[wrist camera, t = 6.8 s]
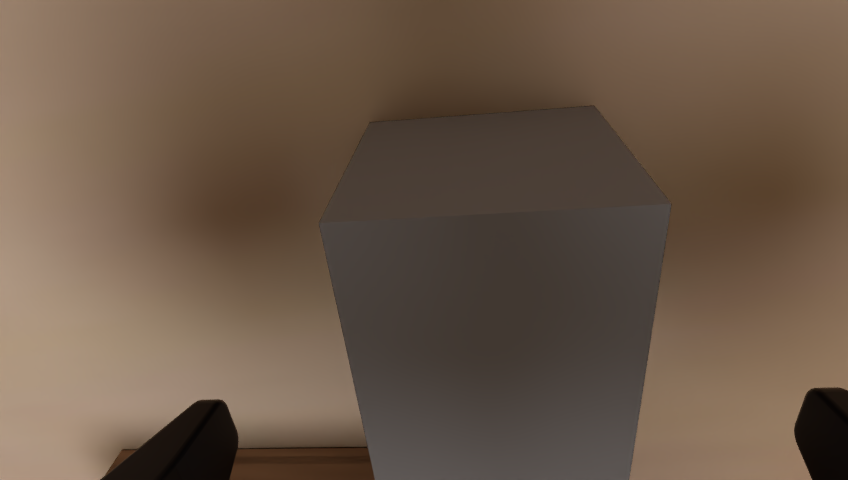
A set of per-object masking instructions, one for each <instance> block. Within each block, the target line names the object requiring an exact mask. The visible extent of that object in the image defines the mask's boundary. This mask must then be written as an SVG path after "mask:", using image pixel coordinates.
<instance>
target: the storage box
mask: <svg viewBox="0 0 848 480" xmlns="http://www.w3.org/2000/svg"><path fill="white" fill-rule="evenodd" d="M135 451H136V450H122V451H121V452H120V454H119V455H118V457H117V458H116V460H115V461H114V463H113V464H112V466H111V467H110V469H109V470H108V472H107V473H106V474H108V473H109V472H110V471H111V470H113V469H114V468H115V467H116V466H118V465H119V464H120V463H121V462H122V461H124V460H125V459H126V458H127V457H129V456H130V455H131V454H132V453H133V452H135ZM230 480H375V478H374V473H373V469H372V464H371V459H370V455H369V450H368V448H305V449H237V452H236V456H235V460H234V464H233V468H232V472H231V476H230Z"/></svg>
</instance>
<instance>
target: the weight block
mask: <svg viewBox="0 0 848 480" xmlns="http://www.w3.org/2000/svg"><path fill="white" fill-rule="evenodd" d="M670 210H671V203H670V201H669V200H668V199H667V198H666V196H665V195H664V194H663V192H662V191H661V190H660V189H659V187H658V186H657V185H656V184H655V182H654V181H653V180H652V178H651V177H650V176H649V175H648V173H647V172H646V171H645V170H644V168H643V167H642V166H641V164H640V163H639V162H638V161H637V159H636V158H635V157H634V156H633V154H632V153H631V152H630V150H629V149H628V148H627V147H626V145H625V144H624V143H623V142H622V140H621V139H620V138H619V136H618V135H617V134H616V133H615V131H614V130H613V129H612V128H611V126H610V125H609V124H608V122H607V121H606V120H605V119H604V117H603V116H602V115H601V114H600V112H599V111H598V110H597V108H596V107H595V106H584V107H570V108H557V109H543V110H530V111H516V112H503V113H489V114H476V115H462V116H449V117H436V118H422V119H409V120H395V121H382V122H370V123H369V125H368V127H367V129H366V131H365V133H364V135H363V137H362V139H361V141H360V143H359V145H358V147H357V149H356V151H355V153H354V155H353V157H352V159H351V160H350V162H349V164H348V166H347V168H346V170H345V172H344V174H343V176H342V178H341V180H340V182H339V184H338V186H337V188H336V190H335V192H334V194H333V196H332V198H331V200H330V202H329V204H328V206H327V208H326V210H325V212H324V214H323V216H322V218H321V220H320V222H319V227H320V231H321V236H322V240H323V245H324V249H325V254H326V259H327V263H328V268H329V272H330V277H331V281H332V286H333V291H334V295H335V300H336V304H337V309H338V313H339V318H340V322H341V327H342V332H343V336H344V341H345V345H346V350H347V354H348V359H349V364H350V368H351V373H352V377H353V382H354V386H355V391H356V396H357V400H358V405H359V409H360V414H361V418H362V423H363V428H364V432H365V437H366V441H367V446H368V450H369V455H370V459H371V464H372V469H373V473H374V478H375V480H629V477H630V471H631V464H632V458H633V451H634V445H635V438H636V432H637V425H638V419H639V412H640V406H641V399H642V393H643V386H644V379H645V373H646V366H647V360H648V353H649V347H650V340H651V334H652V327H653V321H654V314H655V308H656V301H657V295H658V288H659V282H660V275H661V269H662V262H663V256H664V249H665V243H666V236H667V230H668V223H669V217H670Z"/></svg>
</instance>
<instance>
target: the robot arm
mask: <svg viewBox="0 0 848 480" xmlns="http://www.w3.org/2000/svg"><path fill="white" fill-rule="evenodd" d="M794 433H795V439H796V442H797V445H798V447H799V450H800V452H801V454H802V457H803V459H804V462H805V464H806V466H807V469H808V471H809V473H810V476H811V478H812V480H848V391H847V390H845V389H843V388H813V389H811V390H809V391H808V392H807V394H806V396H805V398H804V401H803V404H802V407H801V409H800V412H799V415H798V418H797V420H796V423H795V428H794ZM237 448H238V433H237V430H236V427H235V425H234V422H233V420H232V417H231V414H230V412H229V409H228V407H227V405H226V403H225V402H224V401H223V400H219V399H218V400H199V401H197V402H195V403H194V404H192V405H191V406H190V407H189V408H187V409H186V410H185V411H184V412H183V413H181V414H180V415H179V416H178V417H176V418H175V419H174V420H173V421H171V422H170V423H169V424H168V425H167V426H165V427H164V428H163V429H162V430H160V431H159V432H158V433H157V434H156V435H154V436H153V437H152V438H151V439H149V440H148V441H147V442H146V443H145V444H143V445H142V446H141V447H140V448H138V449H137V450H136V451H135V452H133V453H132V454H131V455H130V456H129V457H127V458H126V459H125V460H124V461H122V462H121V463H120V464H119V465H118V466H116V467H115V468H114V469H113V470H111V471H110V472H109V473H108V474H106V475H105V476H104V477H103V478H102V479H100V480H230V476H231V472H232V468H233V464H234V460H235V456H236V452H237Z"/></svg>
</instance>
